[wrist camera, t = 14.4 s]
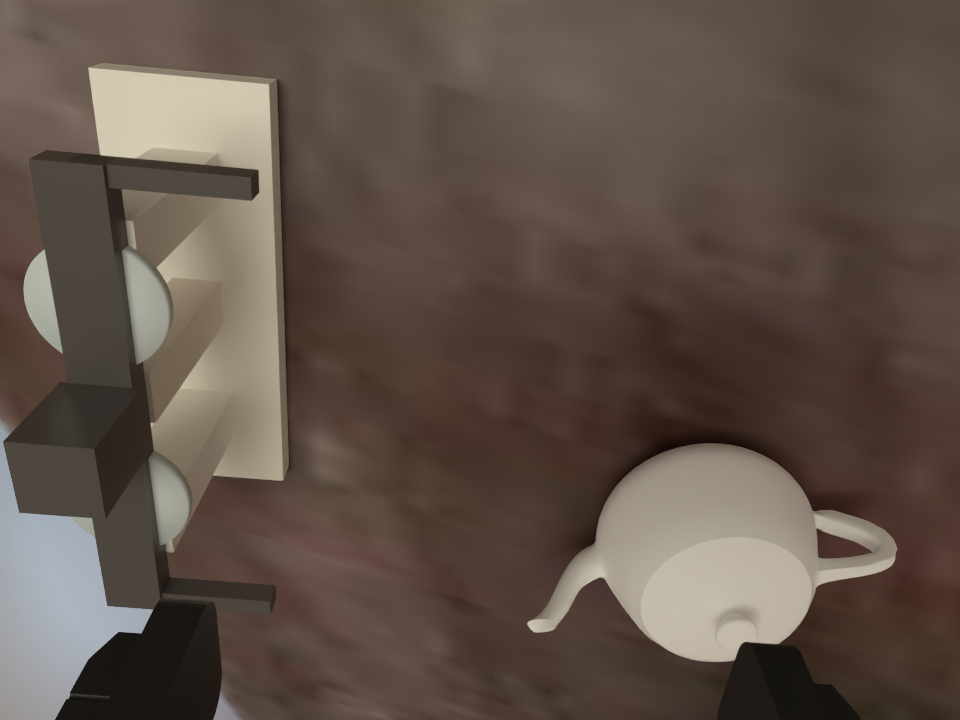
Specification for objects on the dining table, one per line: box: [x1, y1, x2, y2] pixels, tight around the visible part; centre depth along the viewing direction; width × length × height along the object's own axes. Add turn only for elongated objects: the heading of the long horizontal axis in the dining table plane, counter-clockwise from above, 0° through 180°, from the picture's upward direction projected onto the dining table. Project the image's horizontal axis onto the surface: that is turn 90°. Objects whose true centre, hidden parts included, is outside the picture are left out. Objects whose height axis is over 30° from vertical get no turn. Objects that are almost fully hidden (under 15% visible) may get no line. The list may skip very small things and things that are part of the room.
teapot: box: [527, 443, 897, 662], centre depth 44 cm, size 20×12×10 cm, turn 101°
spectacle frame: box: [3, 150, 276, 615], centre depth 30 cm, size 20×9×5 cm, turn 175°
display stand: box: [88, 63, 289, 552], centre depth 37 cm, size 22×8×12 cm, turn 175°
